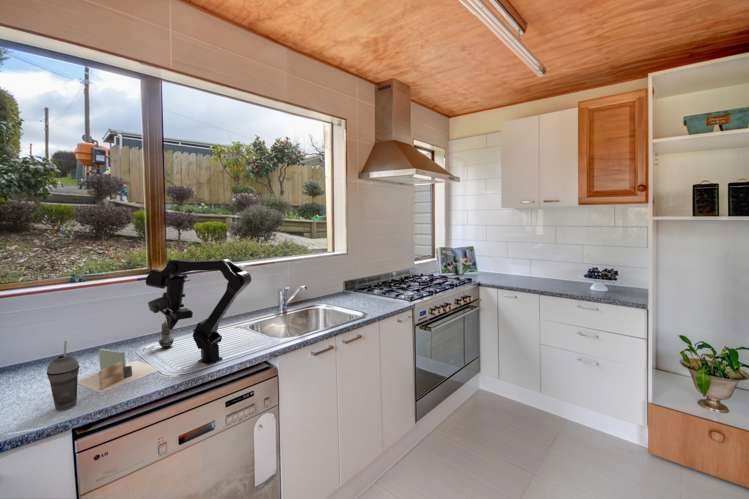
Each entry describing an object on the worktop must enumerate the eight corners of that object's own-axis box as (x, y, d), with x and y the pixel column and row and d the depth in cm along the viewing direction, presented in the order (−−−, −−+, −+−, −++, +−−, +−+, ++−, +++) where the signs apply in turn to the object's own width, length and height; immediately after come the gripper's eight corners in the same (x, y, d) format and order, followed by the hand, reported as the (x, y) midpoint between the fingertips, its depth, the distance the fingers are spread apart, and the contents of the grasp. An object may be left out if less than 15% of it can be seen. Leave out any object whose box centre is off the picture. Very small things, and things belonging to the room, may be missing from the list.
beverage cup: (62, 401, 108) (57, 337, 106) (88, 400, 108) (83, 336, 107) (42, 415, 100) (36, 346, 99) (70, 413, 101) (64, 345, 99)
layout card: (162, 369, 130) (162, 369, 130) (99, 393, 113) (99, 392, 113) (135, 361, 138) (135, 360, 138) (73, 381, 121) (73, 380, 121)
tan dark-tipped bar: (128, 374, 126) (127, 357, 126) (133, 375, 126) (132, 358, 125) (98, 388, 115) (97, 370, 115) (104, 389, 115) (102, 371, 114)
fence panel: (125, 374, 126) (124, 352, 125) (123, 375, 125) (121, 353, 124) (103, 370, 129) (101, 348, 128) (100, 371, 128) (99, 349, 127)
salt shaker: (167, 351, 149) (165, 323, 148) (155, 350, 150) (153, 322, 149) (177, 346, 154) (176, 319, 153) (166, 345, 156) (164, 318, 154)
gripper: (140, 286, 136) (136, 325, 137) (165, 299, 126) (160, 341, 127) (170, 284, 145) (166, 321, 147) (195, 296, 135) (190, 335, 137)
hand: (170, 329), depth 139 cm, fingers closed
